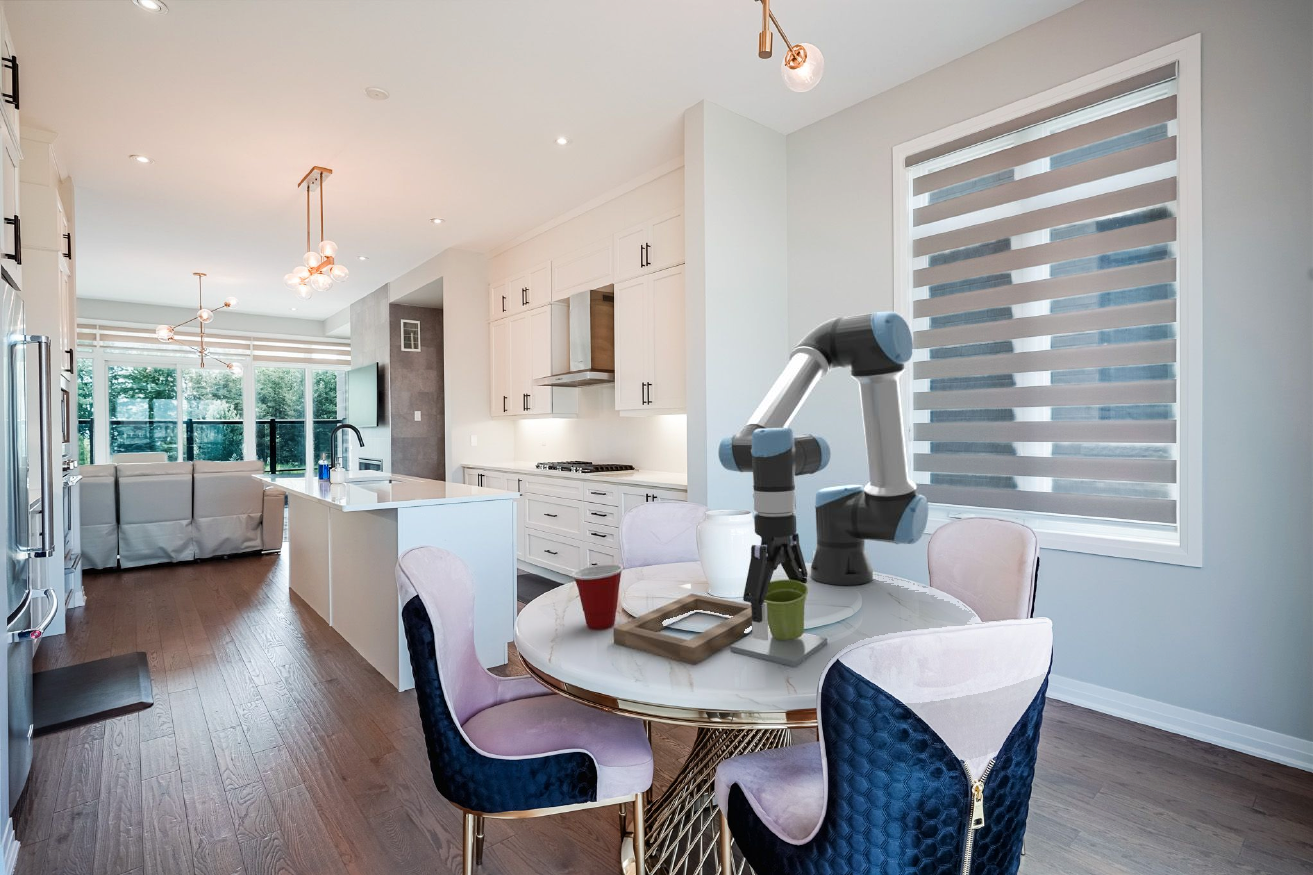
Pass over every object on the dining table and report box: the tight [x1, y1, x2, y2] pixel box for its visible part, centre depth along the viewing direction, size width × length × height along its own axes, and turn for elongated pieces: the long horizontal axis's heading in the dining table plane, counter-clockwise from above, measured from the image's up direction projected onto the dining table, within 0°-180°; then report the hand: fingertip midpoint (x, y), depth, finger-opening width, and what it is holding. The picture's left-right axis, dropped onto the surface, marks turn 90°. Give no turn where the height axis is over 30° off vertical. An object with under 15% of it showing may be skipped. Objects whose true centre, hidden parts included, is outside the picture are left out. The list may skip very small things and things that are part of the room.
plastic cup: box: [571, 563, 624, 631], centre depth 135 cm, size 11×11×12 cm
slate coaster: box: [729, 627, 828, 668], centre depth 119 cm, size 13×13×1 cm
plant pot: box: [764, 578, 809, 640], centre depth 121 cm, size 9×9×9 cm
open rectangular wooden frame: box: [612, 593, 752, 665], centre depth 128 cm, size 26×19×3 cm
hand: (778, 627), depth 119 cm, fingers open, 13 cm apart
